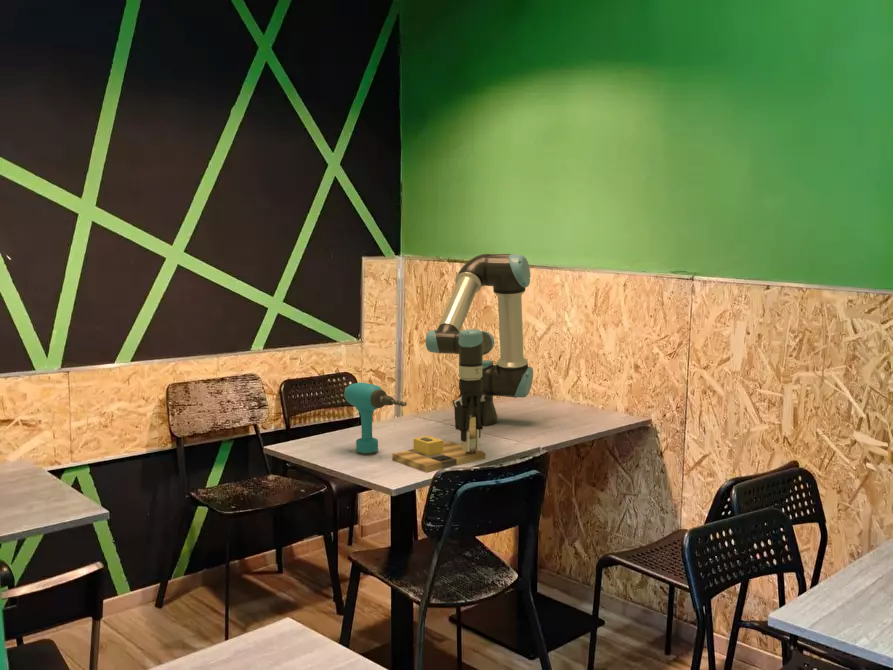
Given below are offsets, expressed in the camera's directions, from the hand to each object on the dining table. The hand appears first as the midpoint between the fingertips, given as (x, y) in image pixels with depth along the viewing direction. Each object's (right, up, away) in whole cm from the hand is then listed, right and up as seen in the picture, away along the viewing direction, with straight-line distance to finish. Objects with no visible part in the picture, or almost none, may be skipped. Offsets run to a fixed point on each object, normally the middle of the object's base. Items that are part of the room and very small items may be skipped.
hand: (470, 449), depth 274 cm
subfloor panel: (-10, -3, 0) cm, 11 cm away
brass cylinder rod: (0, -1, 0) cm, 1 cm away
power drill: (-31, -3, +5) cm, 31 cm away
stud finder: (-14, -1, +2) cm, 14 cm away
